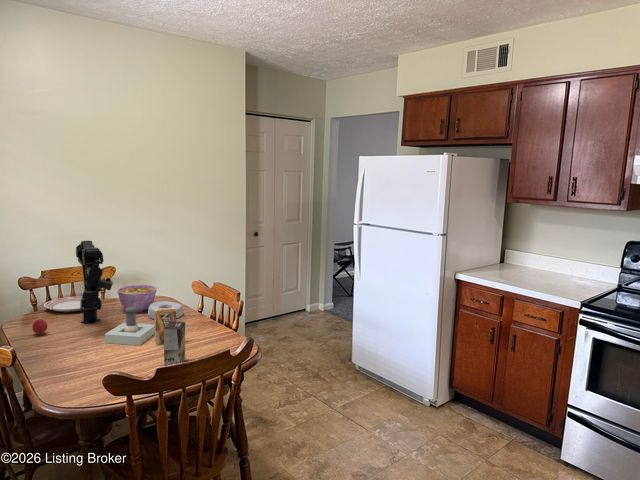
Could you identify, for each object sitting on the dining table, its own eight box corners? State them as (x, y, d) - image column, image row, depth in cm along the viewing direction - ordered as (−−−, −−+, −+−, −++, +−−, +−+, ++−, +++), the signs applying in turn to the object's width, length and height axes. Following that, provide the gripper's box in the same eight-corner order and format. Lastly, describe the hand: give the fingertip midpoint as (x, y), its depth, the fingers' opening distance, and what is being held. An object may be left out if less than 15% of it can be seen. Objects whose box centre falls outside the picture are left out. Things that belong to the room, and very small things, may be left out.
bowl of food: (123, 304, 251) (122, 284, 249) (159, 304, 254) (159, 284, 253) (113, 315, 231) (112, 294, 230) (153, 315, 235) (153, 294, 233)
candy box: (175, 339, 203) (174, 307, 201) (176, 342, 199) (176, 309, 197) (154, 341, 199) (154, 308, 197) (155, 344, 195) (155, 311, 193)
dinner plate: (50, 302, 250) (50, 296, 250) (103, 299, 260) (103, 293, 259) (38, 317, 225) (38, 310, 224) (98, 313, 235) (98, 307, 234)
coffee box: (180, 368, 173) (180, 329, 171) (163, 368, 173) (163, 328, 170) (185, 358, 182) (185, 321, 180) (169, 358, 182) (169, 321, 179)
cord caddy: (123, 330, 211) (123, 322, 210) (155, 332, 210) (155, 324, 209) (104, 342, 195) (104, 334, 194) (139, 345, 194) (139, 336, 193)
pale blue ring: (149, 311, 241) (149, 301, 240) (183, 310, 246) (183, 299, 245) (146, 322, 225) (146, 310, 224) (182, 320, 230) (182, 309, 229)
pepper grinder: (123, 336, 203) (122, 307, 201) (137, 334, 206) (136, 305, 204) (125, 340, 198) (124, 310, 196) (139, 338, 201) (138, 309, 199)
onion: (40, 337, 198) (39, 320, 197) (29, 336, 199) (28, 319, 198) (50, 333, 203) (49, 316, 202) (40, 331, 204) (39, 315, 203)
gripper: (109, 278, 201) (110, 311, 203) (113, 270, 218) (113, 300, 221) (82, 279, 197) (83, 313, 199) (87, 270, 214) (88, 302, 217)
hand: (93, 307), depth 209 cm, fingers open, 9 cm apart
